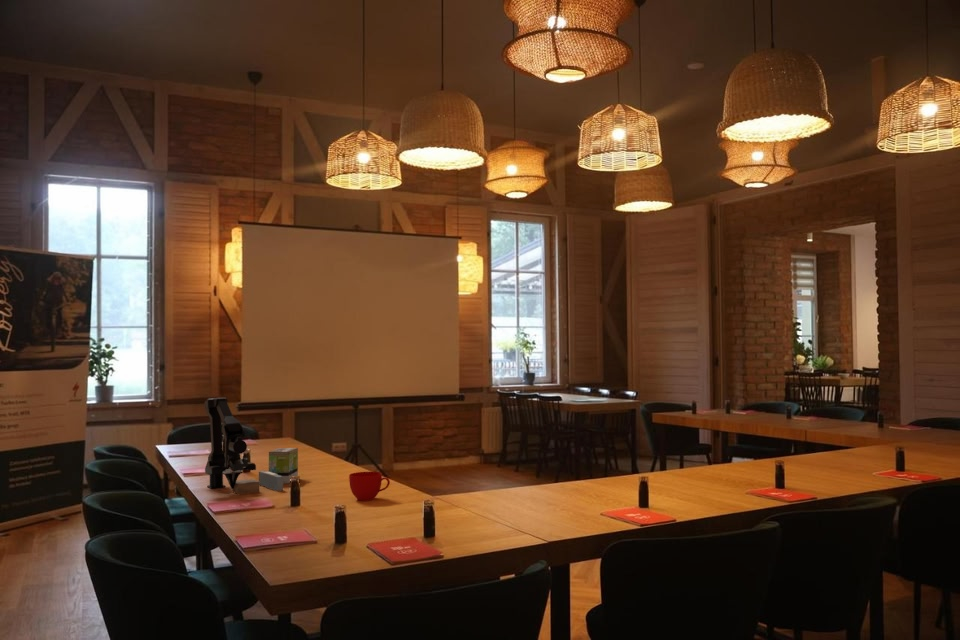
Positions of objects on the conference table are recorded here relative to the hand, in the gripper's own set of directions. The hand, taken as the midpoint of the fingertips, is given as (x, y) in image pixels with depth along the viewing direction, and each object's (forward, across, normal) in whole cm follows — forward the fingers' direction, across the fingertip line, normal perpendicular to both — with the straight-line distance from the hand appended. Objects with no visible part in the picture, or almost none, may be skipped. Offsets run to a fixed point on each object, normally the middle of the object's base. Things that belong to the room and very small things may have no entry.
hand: (232, 488), depth 323 cm
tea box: (+2, +29, +16) cm, 33 cm away
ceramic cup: (+2, +38, -52) cm, 65 cm away
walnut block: (+3, +6, +1) cm, 7 cm away
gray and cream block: (+2, +18, +3) cm, 18 cm away
